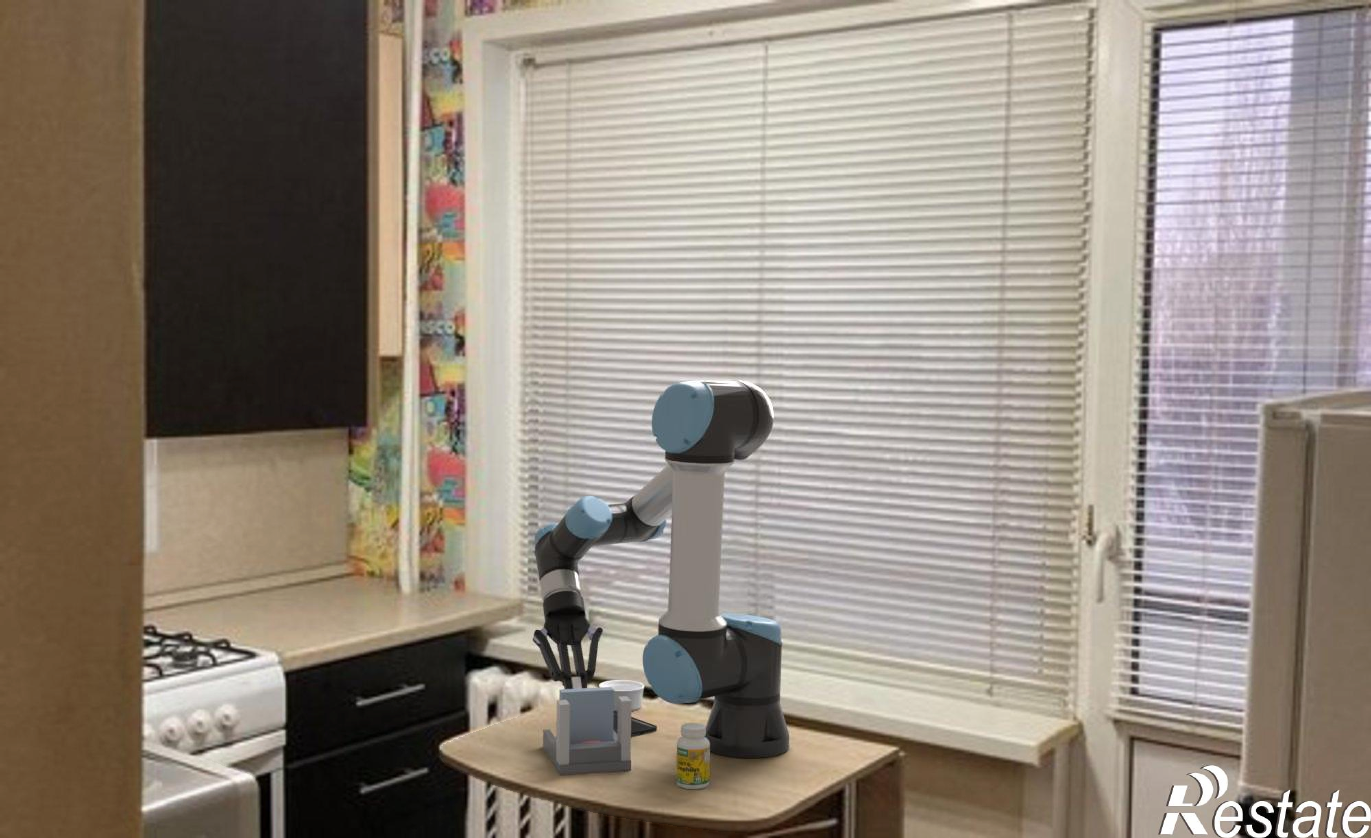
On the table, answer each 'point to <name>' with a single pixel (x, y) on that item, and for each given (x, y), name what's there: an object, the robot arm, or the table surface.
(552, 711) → the table surface
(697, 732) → the supplement bottle
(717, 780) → the table surface
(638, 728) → the phone
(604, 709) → the blue-grey rectangular panel
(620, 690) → the ramekin
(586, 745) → the housing
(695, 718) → the table surface
